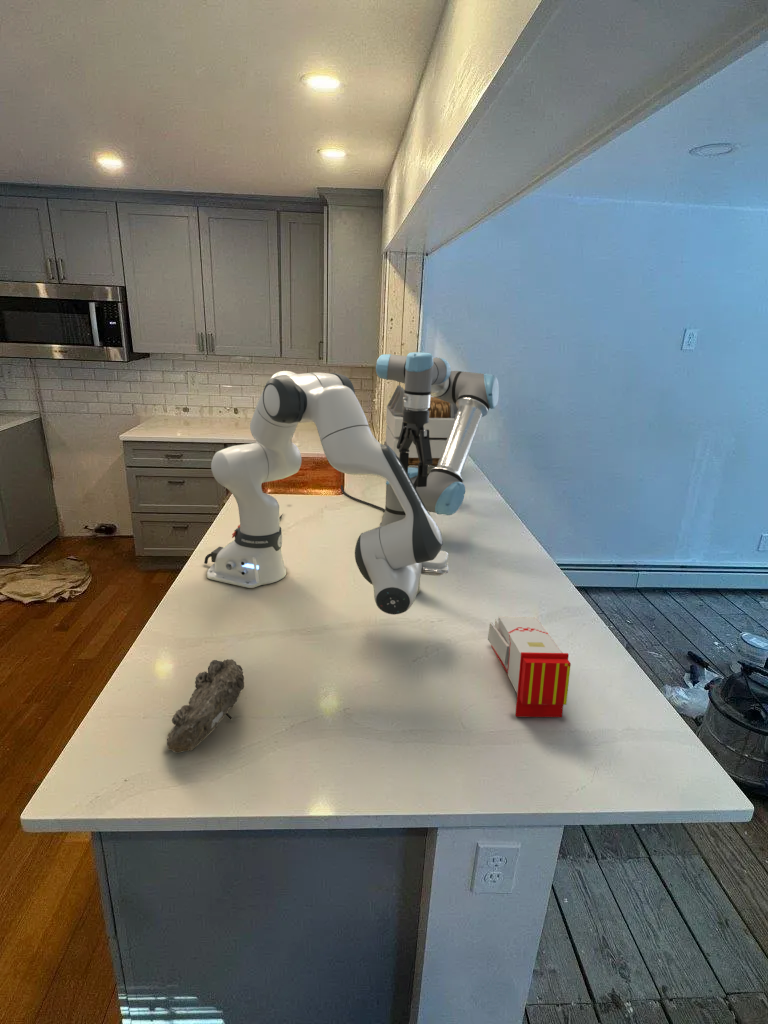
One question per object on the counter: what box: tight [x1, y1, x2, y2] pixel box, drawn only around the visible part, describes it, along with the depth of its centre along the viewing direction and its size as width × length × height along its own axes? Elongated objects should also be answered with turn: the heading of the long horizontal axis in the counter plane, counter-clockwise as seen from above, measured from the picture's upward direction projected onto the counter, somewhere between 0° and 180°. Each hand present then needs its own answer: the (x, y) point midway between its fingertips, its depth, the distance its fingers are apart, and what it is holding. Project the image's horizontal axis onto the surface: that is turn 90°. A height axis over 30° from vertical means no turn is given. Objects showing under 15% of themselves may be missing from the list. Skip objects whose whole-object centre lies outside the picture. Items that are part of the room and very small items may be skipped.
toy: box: [487, 616, 572, 718], centre depth 123 cm, size 12×13×30 cm
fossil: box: [166, 658, 245, 754], centre depth 106 cm, size 22×10×15 cm
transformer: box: [383, 384, 458, 467], centre depth 268 cm, size 34×33×41 cm
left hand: (409, 546), depth 143 cm, fingers open, 8 cm apart
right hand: (412, 479), depth 169 cm, fingers open, 13 cm apart
